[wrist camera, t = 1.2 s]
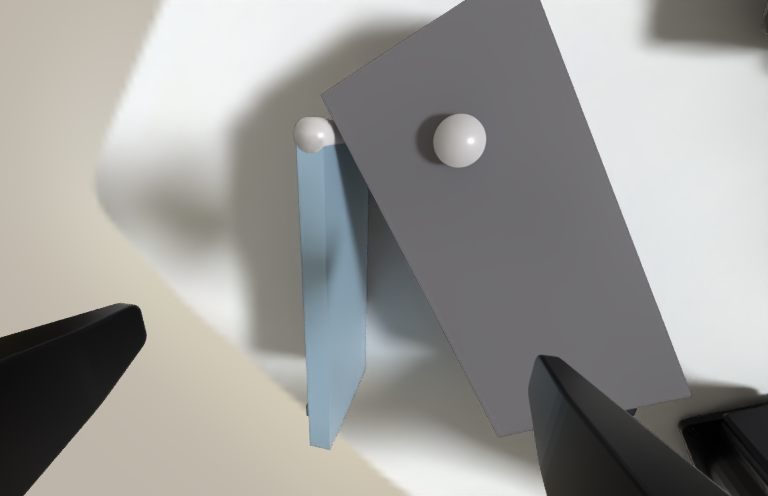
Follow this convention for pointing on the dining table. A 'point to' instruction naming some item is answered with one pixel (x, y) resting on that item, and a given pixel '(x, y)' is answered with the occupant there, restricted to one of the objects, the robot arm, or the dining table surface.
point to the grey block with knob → (506, 208)
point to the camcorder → (765, 21)
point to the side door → (331, 272)
